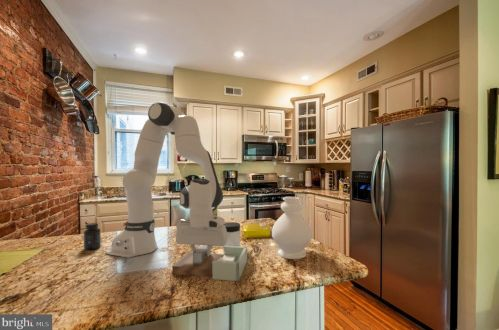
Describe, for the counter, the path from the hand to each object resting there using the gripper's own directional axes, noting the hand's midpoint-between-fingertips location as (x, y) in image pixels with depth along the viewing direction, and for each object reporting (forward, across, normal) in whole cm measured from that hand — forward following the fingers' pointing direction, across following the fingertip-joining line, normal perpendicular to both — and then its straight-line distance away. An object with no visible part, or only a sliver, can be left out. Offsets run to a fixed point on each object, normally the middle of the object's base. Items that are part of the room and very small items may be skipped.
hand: (201, 255), depth 89 cm
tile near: (+3, +9, -4) cm, 10 cm away
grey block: (+2, 0, +1) cm, 2 cm away
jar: (+5, +7, +20) cm, 22 cm away
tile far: (+4, +10, +4) cm, 11 cm away
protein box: (+5, -14, +43) cm, 45 cm away
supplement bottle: (+5, -62, +13) cm, 63 cm away
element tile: (+5, +15, +46) cm, 49 cm away
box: (+5, +12, 0) cm, 13 cm away
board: (+5, -1, 0) cm, 5 cm away
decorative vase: (+5, +35, +19) cm, 40 cm away
